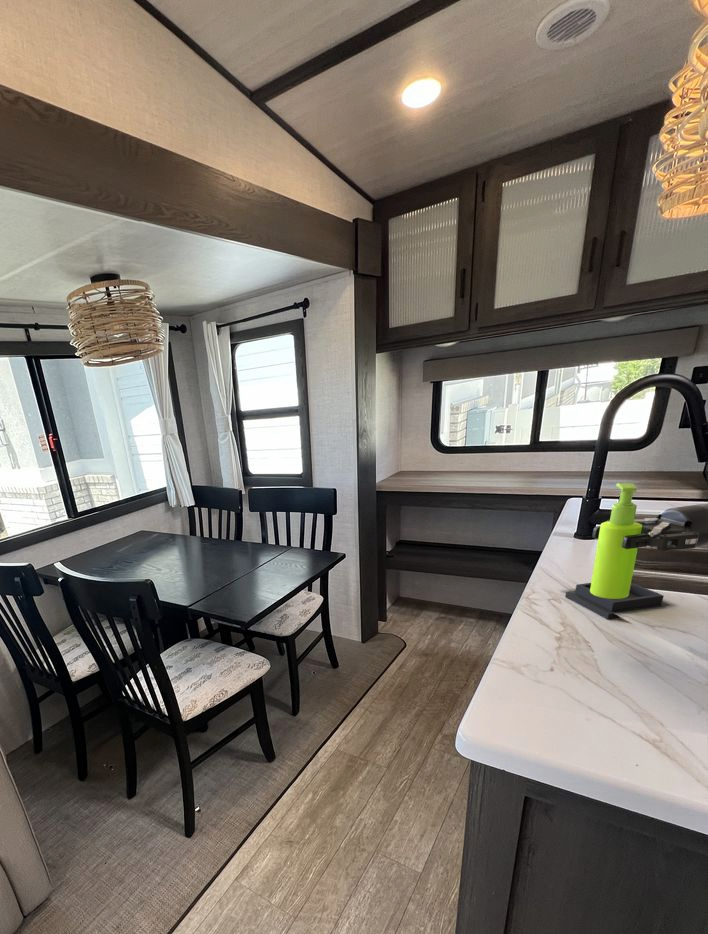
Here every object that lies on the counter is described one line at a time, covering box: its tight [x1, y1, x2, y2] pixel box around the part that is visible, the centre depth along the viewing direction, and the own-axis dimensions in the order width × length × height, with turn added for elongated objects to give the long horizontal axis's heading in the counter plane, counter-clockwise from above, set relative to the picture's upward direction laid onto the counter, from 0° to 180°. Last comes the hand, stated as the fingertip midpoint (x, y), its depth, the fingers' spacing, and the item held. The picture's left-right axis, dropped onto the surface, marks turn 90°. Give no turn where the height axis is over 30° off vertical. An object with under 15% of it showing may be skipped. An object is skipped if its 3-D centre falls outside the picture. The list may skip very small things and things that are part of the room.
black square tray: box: [564, 581, 670, 620], centre depth 101 cm, size 14×12×3 cm
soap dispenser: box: [590, 482, 642, 599], centre depth 84 cm, size 6×7×20 cm
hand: (609, 537), depth 83 cm, fingers closed on soap dispenser, 6 cm apart
